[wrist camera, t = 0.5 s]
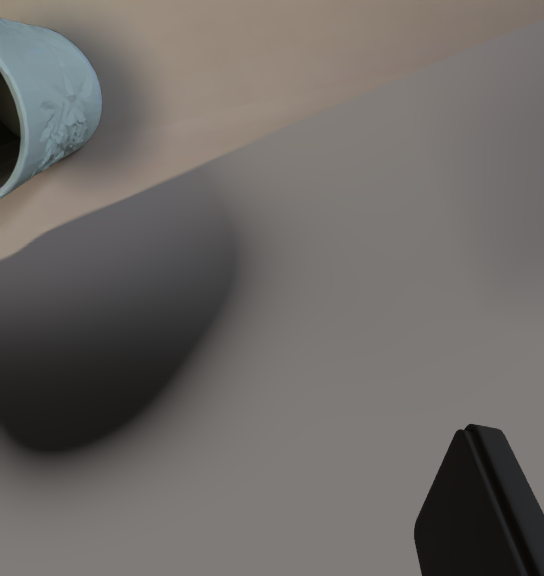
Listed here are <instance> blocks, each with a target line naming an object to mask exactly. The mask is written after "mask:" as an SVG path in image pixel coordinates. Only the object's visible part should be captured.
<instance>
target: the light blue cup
mask: <svg viewBox="0 0 544 576" xmlns="http://www.w3.org/2000/svg"><path fill="white" fill-rule="evenodd" d="M101 112H102V94H101V89H100V85H99V82H98V79H97V76H96V73H95V71H94V69H93V68H92V66H91V64H90V63H89V61H88V60H87V58H86V57H85V56H84V54H83V53H82V52H81V51H80V50H79V49H78V48H77V47H76V46H75V45H74V44H73V43H72V42H71V41H69V40H68V39H66V38H65V37H64V36H62V35H60V34H59V33H56V32H54V31H52V30H49V29H46V28H42V27H38V26H33V25H29V24H23V23H20V22H16V21H11V20H7V19H2V18H0V199H1V198H3V197H4V196H6V195H7V194H8V193H10V192H11V191H13V190H14V189H16V188H17V187H19V186H20V185H22V184H23V183H25V182H26V181H28V180H29V179H30V178H31V177H33V176H34V175H36V174H38V173H40V172H42V171H44V170H45V169H47V168H48V167H49V166H51V165H53V164H54V163H56V162H58V161H59V160H60V159H61V158H64V157H66V156H68V155H69V154H71V153H73V152H74V151H76V150H77V149H79V148H81V147H82V146H83V145H84V144H86V143H87V142H88V140H89V139H90V138H91V137H92V135H93V134H94V132H95V130H96V128H97V126H98V124H99V121H100V117H101Z"/></svg>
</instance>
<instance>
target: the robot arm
mask: <svg viewBox="0 0 544 576" xmlns="http://www.w3.org/2000/svg"><path fill="white" fill-rule="evenodd" d="M414 539H415V545H416V549H417V554H418V559H419V563H420V568H421V573H422V576H544V514H543V512H542V510H541V508H540V506H539V504H538V502H537V500H536V498H535V496H534V494H533V492H532V490H531V488H530V486H529V484H528V482H527V480H526V478H525V475H524V474H523V472H522V470H521V467H520V466H519V464H518V462H517V460H516V458H515V455H514V453H513V451H512V449H511V447H510V445H509V443H508V441H507V439H506V437H505V435H504V434H503V432H502V431H501V430H499V429H496V428H490V427H485V426H480V425H474V424H469V425H468V426H467V427H466V428H465V430H461V429H460V430H458V431H456V433H455V435H454V437H453V440H452V442H451V444H450V446H449V448H448V451H447V453H446V455H445V457H444V459H443V462H442V464H441V466H440V469H439V471H438V473H437V475H436V477H435V480H434V482H433V484H432V486H431V489H430V491H429V493H428V495H427V498H426V500H425V502H424V504H423V506H422V509H421V511H420V513H419V515H418V518H417V520H416V523H415V528H414Z"/></svg>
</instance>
